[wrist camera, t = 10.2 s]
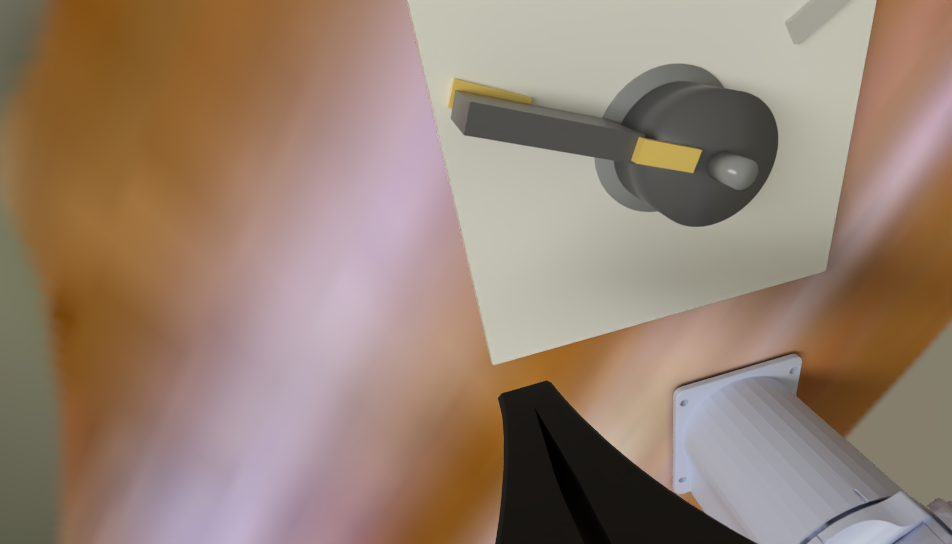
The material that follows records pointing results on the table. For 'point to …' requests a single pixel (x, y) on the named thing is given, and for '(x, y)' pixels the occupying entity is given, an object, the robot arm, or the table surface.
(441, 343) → the table surface
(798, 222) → the plate and post
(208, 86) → the table surface
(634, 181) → the door lever handle
